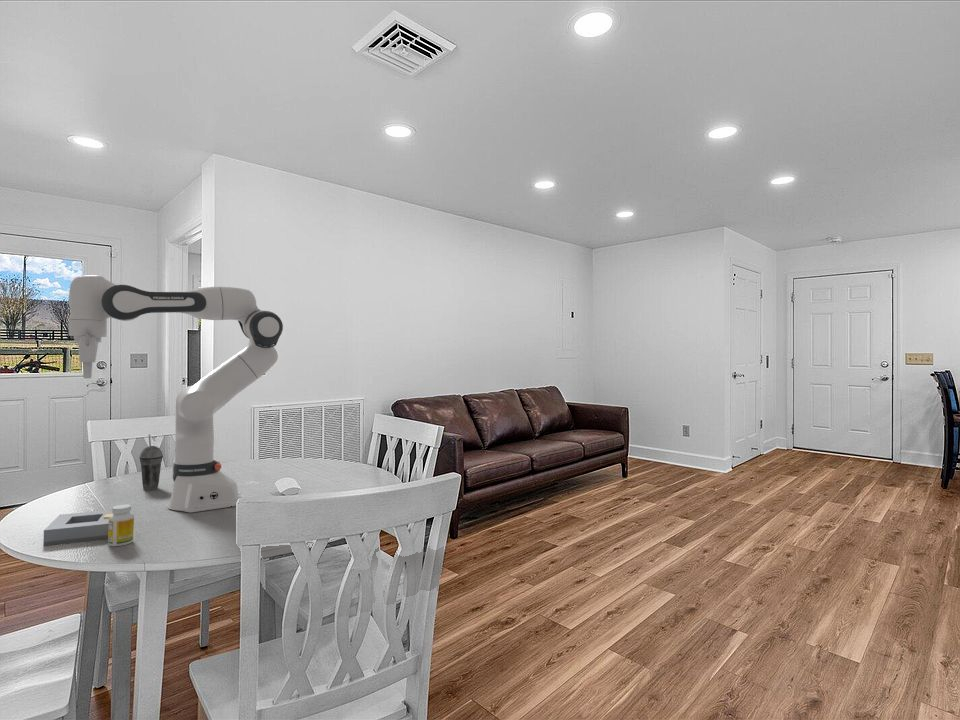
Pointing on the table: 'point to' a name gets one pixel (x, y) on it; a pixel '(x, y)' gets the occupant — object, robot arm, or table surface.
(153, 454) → the beverage cup
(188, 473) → the robot arm
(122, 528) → the supplement bottle
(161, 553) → the table surface
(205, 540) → the table surface
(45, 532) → the dock
